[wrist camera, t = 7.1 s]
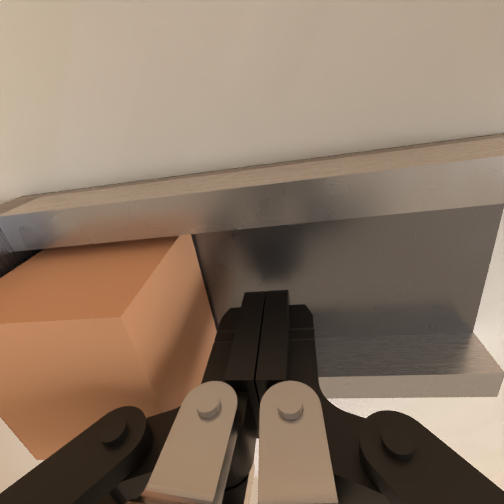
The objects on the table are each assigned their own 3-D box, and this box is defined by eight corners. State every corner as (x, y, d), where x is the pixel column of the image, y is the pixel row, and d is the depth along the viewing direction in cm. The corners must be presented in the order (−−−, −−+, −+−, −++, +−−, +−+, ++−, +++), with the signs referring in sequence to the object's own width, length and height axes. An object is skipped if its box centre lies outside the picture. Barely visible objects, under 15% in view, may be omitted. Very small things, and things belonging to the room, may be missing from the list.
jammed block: (187, 223, 11) (120, 317, 6) (218, 339, 13) (186, 463, 9) (62, 236, 11) (-75, 328, 7) (114, 343, 14) (36, 459, 10)
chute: (510, 132, 9) (686, 166, 5) (461, 344, 13) (538, 456, 9) (22, 196, 12) (-113, 251, 8) (105, 356, 16) (43, 447, 12)
